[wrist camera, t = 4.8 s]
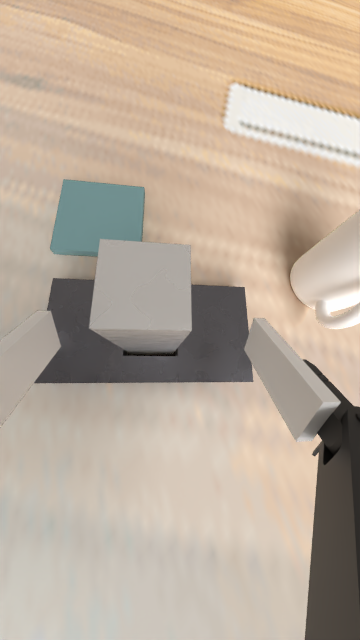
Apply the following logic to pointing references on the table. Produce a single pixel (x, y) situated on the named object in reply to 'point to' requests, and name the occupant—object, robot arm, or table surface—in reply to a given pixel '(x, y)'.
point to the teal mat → (96, 216)
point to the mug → (331, 276)
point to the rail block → (116, 367)
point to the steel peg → (142, 295)
